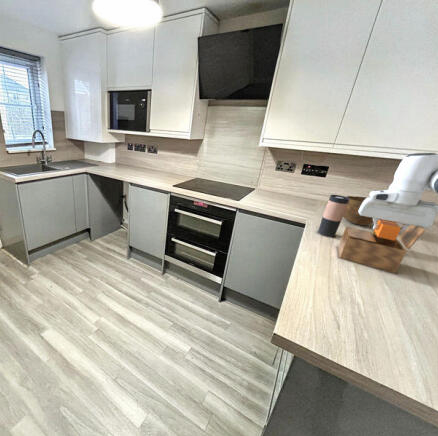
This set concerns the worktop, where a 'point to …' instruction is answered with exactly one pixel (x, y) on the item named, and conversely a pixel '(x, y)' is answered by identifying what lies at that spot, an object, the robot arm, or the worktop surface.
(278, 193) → the worktop surface
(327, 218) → the travel mug
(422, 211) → the robot arm
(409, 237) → the carton flap
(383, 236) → the orange block
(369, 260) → the carton
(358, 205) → the bowl
